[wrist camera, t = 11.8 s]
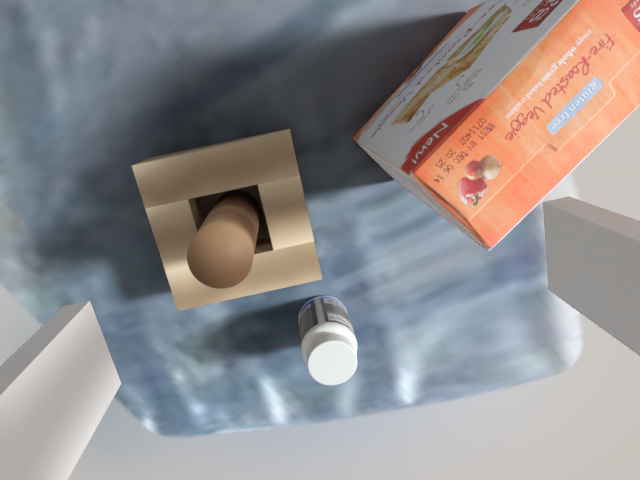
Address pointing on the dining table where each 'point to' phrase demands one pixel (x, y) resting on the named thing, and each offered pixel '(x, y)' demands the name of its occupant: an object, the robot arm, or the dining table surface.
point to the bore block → (201, 195)
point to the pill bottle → (327, 340)
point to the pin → (226, 241)
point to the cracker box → (508, 108)
